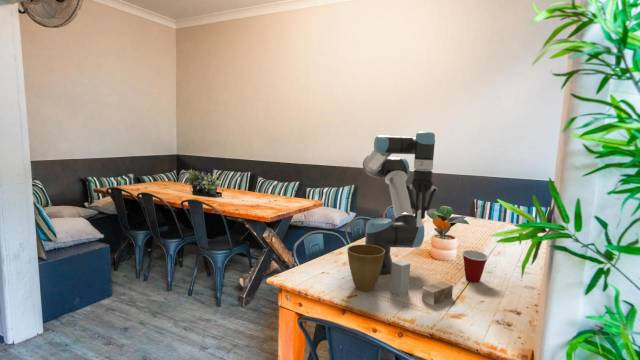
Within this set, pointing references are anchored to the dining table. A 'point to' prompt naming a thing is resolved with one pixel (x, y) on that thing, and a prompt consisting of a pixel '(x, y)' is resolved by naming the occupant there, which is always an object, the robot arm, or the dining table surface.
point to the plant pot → (365, 265)
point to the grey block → (400, 277)
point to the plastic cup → (474, 265)
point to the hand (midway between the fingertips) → (419, 226)
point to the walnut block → (437, 292)
